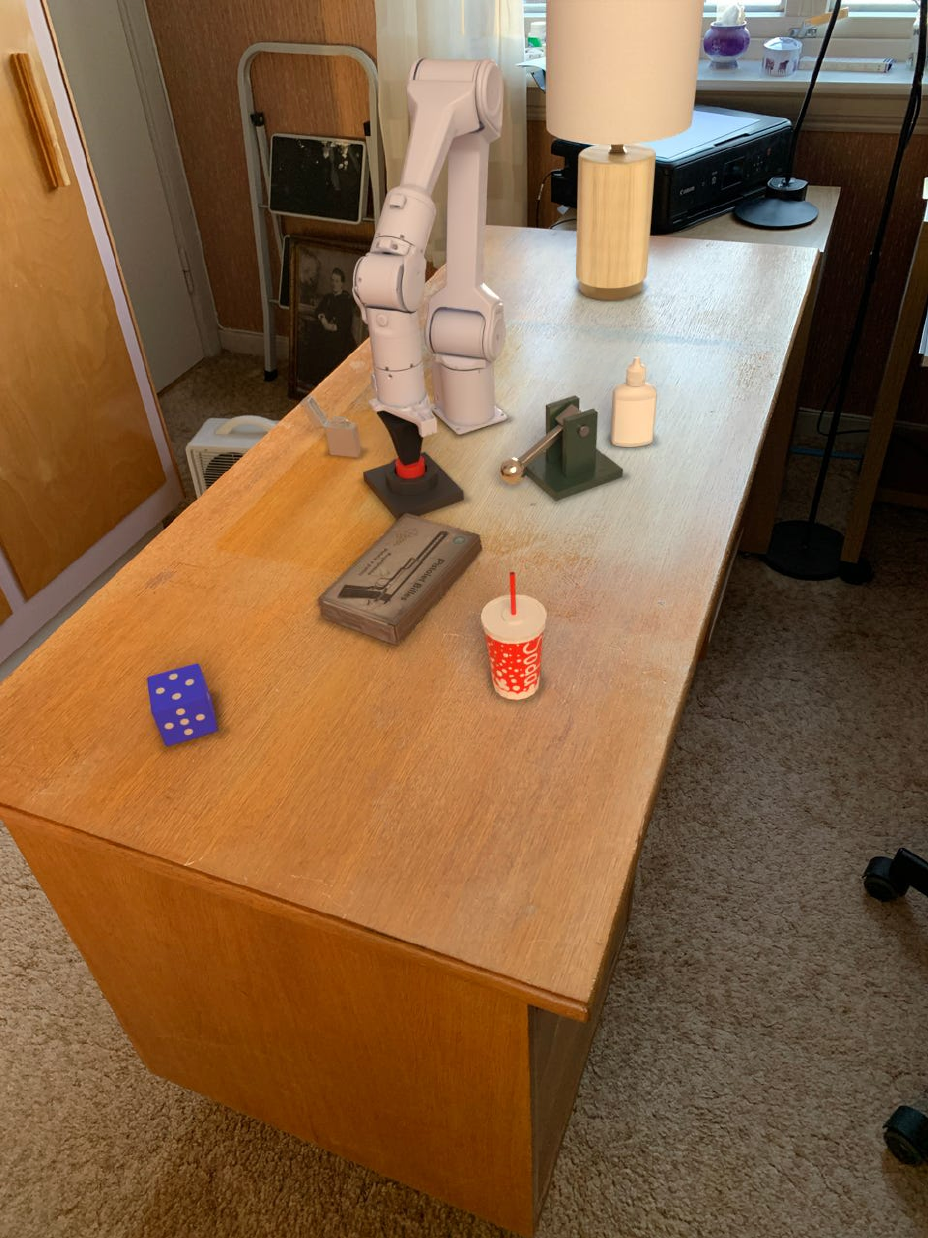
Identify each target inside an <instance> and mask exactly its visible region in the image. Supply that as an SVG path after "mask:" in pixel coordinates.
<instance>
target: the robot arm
mask: <svg viewBox="0 0 928 1238" xmlns="http://www.w3.org/2000/svg"><path fill="white" fill-rule="evenodd" d="M406 79H407V80H406V101H407V108H408V109H407V110H408V113H409V116H410V120H411V122H412V123H411V127H410V133H409V138H408V143H407V148H406V153H405V157H404V163H403V168H402V172H401V178H400V182H399V183H400V184H399V185H398V186H396V187H393V188H391V189H390V190H389V191H388V192H387V193H386V196H385V198H384V202H383V204H382V205H383V206H382V209H381V212H380V215H379V219H378V223H377V226H376V230H375V233H374V236H373V240H372V243H371V246H370V250H369V252H367V253H366V254H365V256H361V257H360V258H359V259H358V260H357V261H356V263H355V266H354V269H353V274H352V275H353V277H352V289H351V291H352V295H353V299H354V301H355V303H356V305H357V306H358V307H359V310H360V313H361V319H362V321H363V322H364V324H366V325H367V327H368V334H369V341H370V342H369V343H370V348H371V349H370V350H371V357H372V362H373V370H374V372H371V373H369V376H370V381H371V388H372V389H373V390H374V391H375V398H372V399H370V400H369V401H368V405H369V407H370V409H371V410H372V411H373V412H376V415H377V416H378V418H379V419H380V420H381V422H382V423H383V425H384V427H385V428H386V431H387V432H388V435H389V437H390V439H391V442H392V444H393V447H394V450H395V453H396V455H397V459H398V458H399V460H400V462H401V463H402V464H403V465H404V466H407V465H410V464H413V463H416V462H419V459H420V453H422V447H423V442H424V438H425V437H428V436H432V435H434V434H438V421H437V417H438V418H439V419H440V420H441V421H442V422H443V423H445V424H446V425H447V427H449V428H450V429H451V430H452V431H453V432H454V433H455V434H456V435H459V436H461V435H464V434H468V433H470V432H473V431H476V430H479V429H480V430H481V429H483V428H485V427H488V426H491V425H496V424H498V423H501V422H504V421H506V420H507V419H508V415H507V414H505V412H504V411H502V410H501V409H499V407H497V406H496V399H495V398H496V397H495V394H496V393H495V376H494V375H495V374H494V373H495V372H494V362H495V361H496V360H497V359H498V358H499V357H500V356H501V354H502V352H503V350H504V347H505V342H506V335H507V334H506V329H507V328H506V322H505V317H504V315H505V314H504V301H503V300H502V299H501V298H500V297H499V296H498V295H497V294H495V292H493V291H492V290H491V289H490V288H489V287H488V286H487V285H486V284H485V283H484V282H485V281H484V279H485V278H484V277H485V257H486V256H485V255H486V252H485V251H486V231H487V207H488V206H487V205H488V203H487V202H488V179H489V178H488V177H489V157H490V156H489V155H490V144H491V143H493V142H494V141H496V140H499V138H501V137H502V127H503V114H504V113H503V112H504V93H505V92H504V91H505V88H504V85H505V84H504V79H503V77H502V73H501V70H500V68H499V66H498V64H497V62H496V61H495V59H493V58H488V57H487V58H484V59H451V58H450V59H447V58H444V59H443V58H438V59H437V58H426V57H417V58H416V59H414V61H413V62H412V64H411V66H410V68H409V71H408V73H407V78H406ZM447 155H448V156H447ZM447 157H448V159H447V206H446V210H447V211H446V253H445V254H446V255H445V256H446V257H445V258H446V259H445V285H444V286H443V287H441V288H439V290H437V291H435V292H434V293H433V294H432V295H431V296H430V298H429V299H428V303H427V314H426V317H425V322H424V326H423V328H424V329H423V338H424V344H425V346H426V348H427V350H428V352H429V353H430V354H432V355H434V357H433V360H432V363H431V377H432V387H433V389H432V390H433V398H434V399H433V400H434V402H433V403H431V402H430V398H429V393H428V389H426V380H425V371H424V360H423V359H424V358H423V349H422V348H423V347H422V338H421V329H420V318H419V317H420V316H419V307H420V305H421V303H422V301H423V297H424V295H425V290H426V289H425V288H426V271H427V270H426V269H427V259H426V258H425V254H426V249H427V246H428V243H429V239H430V236H431V233H432V229H433V226H434V221H435V218H436V215H437V208H436V205H435V203H434V201H433V200H432V198H431V197H432V195H433V192H434V189H435V186H436V184H437V181H438V179H439V176H440V172H441V170H442V168H443V166H444V163H445V161H446V158H447ZM434 414H435V415H436V416H437V417H436V416H435V415H434Z"/></svg>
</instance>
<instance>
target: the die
mask: <svg viewBox="0 0 928 1238" xmlns="http://www.w3.org/2000/svg"><path fill="white" fill-rule="evenodd" d="M200 665H201V664H200V663H199V662H196V663H193V664H189V665H185V666H181V667H178V668H174V669H170V670H168V671H164V672H160V673H157V674H153V675H150V676H147V677H146V683H147V690H148V698H149V705H150V713H151V715H152V717H153V720H154V722H155V724H156V727H157V729H158V731H159V734H160V736H161V738H162V740H163V743H164V745H165V746H166V747H169V746H173V745H175V744H180V743H183V742H186V741H189V740H193V739H196V738H200V737H203V736H206V735H209V734H214V733H216V732H218V731H219V729H218V723H217V719H216V715H215V710H214V704H213V700H212V696H211V692H210V689H209V687H208V685H207V681H206V679H205V676H204V674H203V670H202V667H201V666H200Z"/></svg>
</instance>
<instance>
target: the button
mask: <svg viewBox="0 0 928 1238" xmlns="http://www.w3.org/2000/svg"><path fill="white" fill-rule="evenodd" d="M396 459H397V460H396V471H397V476H399V477H402V478H416V477H419V476H422V475H423V474H424V473H425V464H424V458H423V457H422V456H420V459H419V462H416V463H413V464H410V465H407V466H404V465H403V464H402V463H401V462H400V460H399V458H398V457H397V458H396Z"/></svg>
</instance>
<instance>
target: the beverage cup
mask: <svg viewBox="0 0 928 1238" xmlns="http://www.w3.org/2000/svg"><path fill="white" fill-rule="evenodd" d="M516 590H517V589H516V572H515V571H510V572H509V594H504V595H500V596H498V597H496V598H494V599H492V600H490V601H489V602H488V603H487V604H486V605H485V606H484V607H483V608H482V611H481V615H480V621H481V626H482V629H483V632H484V634H485V641H486V646H487V652H488V658H489V659H488V660H489V667H490V673H491V679H492V680H491V682H492V685H493V689H494V691H495V692H496V693H497V694H498V695H499V696H501V697H503V698H505V699H507V700H516V701H519V700H524V699H527V698H529V697H531V696H533V695H534V694H535V693H536V692H537V691H538V689H539V685H540V679H541V663H542V651H543V639H544V638H543V637H544V630H545V629H546V625H547V618H548V612H547V610H546V609H545V606H544V605H543V604H542V602H540V601H538V600H537V599H536V598H534V597H531V596H528V595H525V594H518V593H517V594H516Z"/></svg>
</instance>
